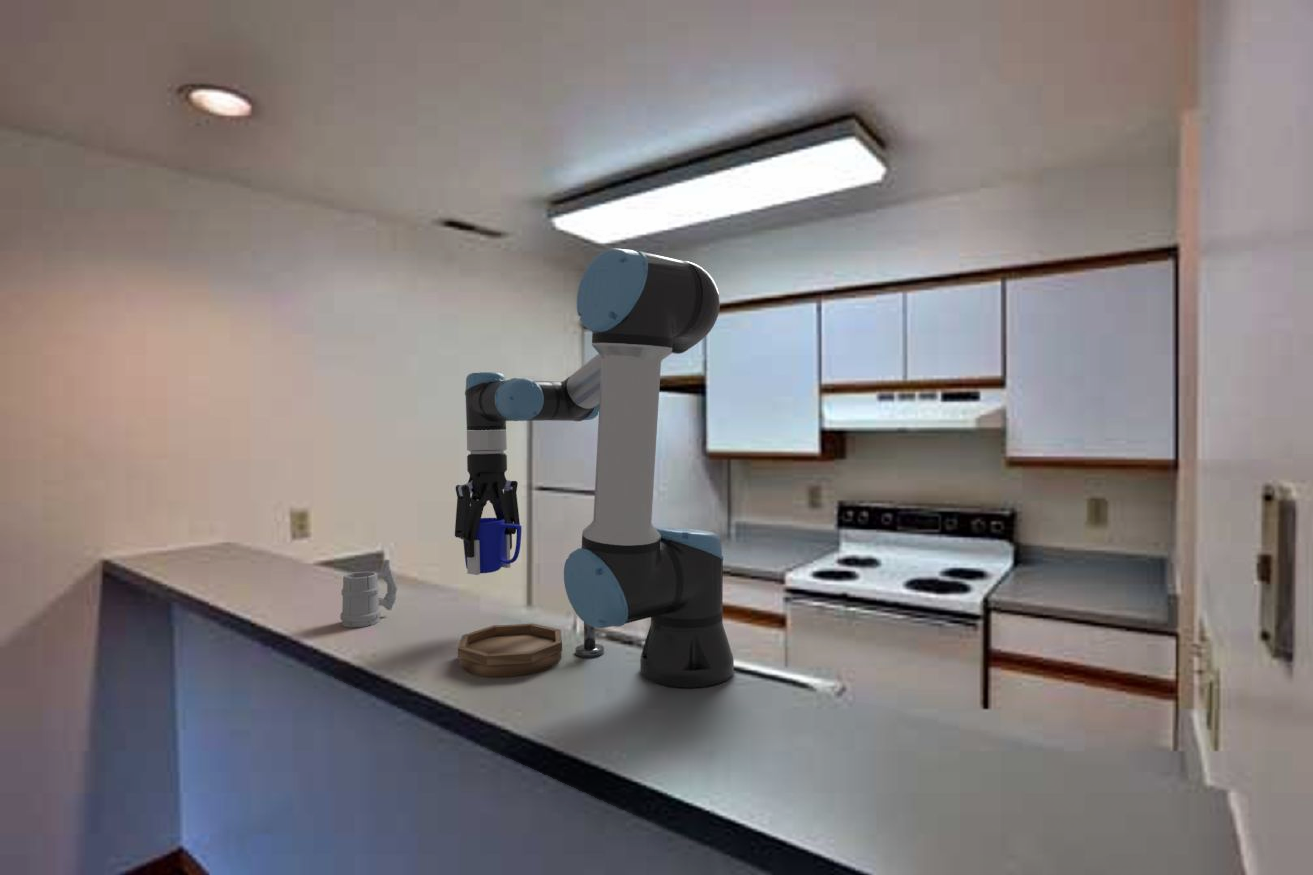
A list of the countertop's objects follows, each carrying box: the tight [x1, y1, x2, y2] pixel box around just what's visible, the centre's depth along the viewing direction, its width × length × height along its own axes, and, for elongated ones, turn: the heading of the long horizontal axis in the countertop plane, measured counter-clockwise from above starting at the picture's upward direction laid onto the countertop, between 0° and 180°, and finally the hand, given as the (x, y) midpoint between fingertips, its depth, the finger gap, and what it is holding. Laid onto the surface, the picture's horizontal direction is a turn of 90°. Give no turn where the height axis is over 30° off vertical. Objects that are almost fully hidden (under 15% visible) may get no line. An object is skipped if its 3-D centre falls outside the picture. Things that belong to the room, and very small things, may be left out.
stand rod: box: [574, 621, 605, 658], centre depth 121 cm, size 5×5×8 cm
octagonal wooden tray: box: [457, 623, 563, 678], centre depth 118 cm, size 17×17×4 cm
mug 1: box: [339, 559, 398, 629], centre depth 142 cm, size 8×12×12 cm, turn 143°
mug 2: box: [462, 517, 523, 574], centre depth 135 cm, size 8×12×10 cm
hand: (489, 570), depth 134 cm, fingers closed on mug 2, 7 cm apart
